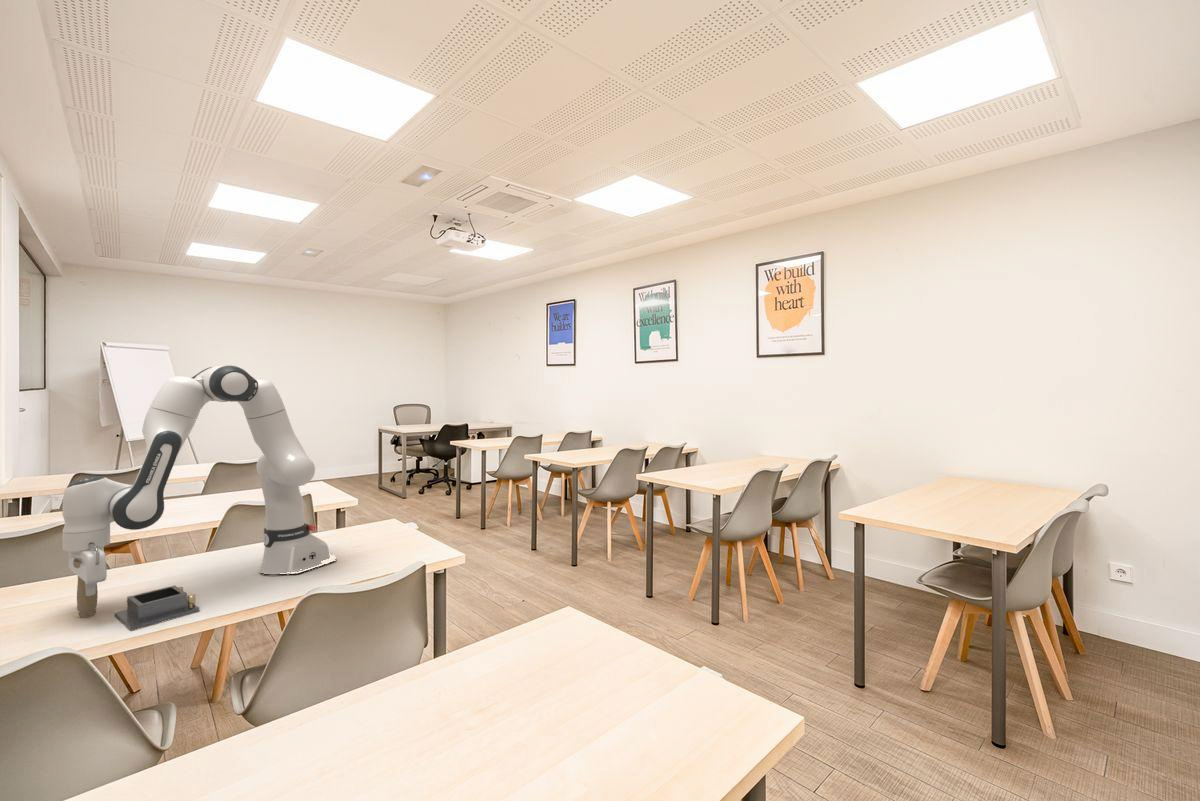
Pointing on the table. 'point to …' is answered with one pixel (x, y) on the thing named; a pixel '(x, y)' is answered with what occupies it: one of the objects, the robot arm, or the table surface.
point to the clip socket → (156, 607)
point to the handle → (84, 597)
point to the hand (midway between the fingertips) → (87, 592)
